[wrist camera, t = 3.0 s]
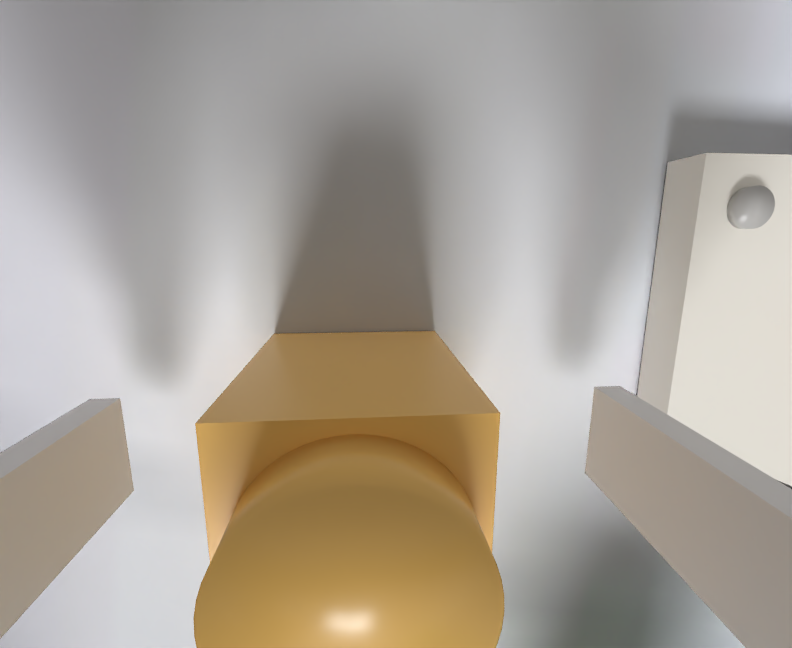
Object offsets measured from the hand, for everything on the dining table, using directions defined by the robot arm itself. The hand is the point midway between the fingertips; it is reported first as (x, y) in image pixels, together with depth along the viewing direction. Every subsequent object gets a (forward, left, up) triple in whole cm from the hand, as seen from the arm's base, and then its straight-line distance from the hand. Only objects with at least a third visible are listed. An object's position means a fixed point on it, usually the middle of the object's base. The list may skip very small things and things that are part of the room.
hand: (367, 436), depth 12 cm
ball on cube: (0, 0, -3) cm, 3 cm away
